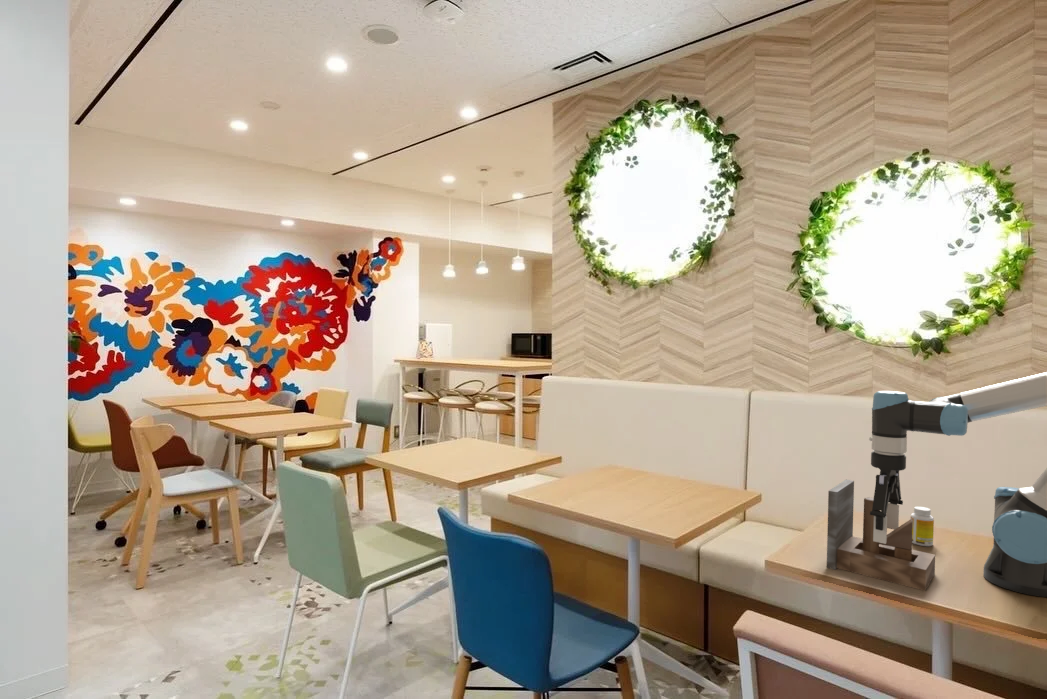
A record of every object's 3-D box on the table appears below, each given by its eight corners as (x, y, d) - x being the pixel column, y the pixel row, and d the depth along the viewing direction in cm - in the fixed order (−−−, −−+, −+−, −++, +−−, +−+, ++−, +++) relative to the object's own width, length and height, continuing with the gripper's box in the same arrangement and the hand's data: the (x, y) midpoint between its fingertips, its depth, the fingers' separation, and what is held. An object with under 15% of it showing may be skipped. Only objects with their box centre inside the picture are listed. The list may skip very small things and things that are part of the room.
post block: (935, 572, 148) (938, 494, 147) (924, 592, 136) (926, 508, 135) (844, 550, 162) (846, 479, 162) (826, 567, 151) (828, 490, 150)
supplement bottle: (938, 546, 166) (939, 510, 166) (921, 547, 165) (923, 512, 165) (920, 539, 172) (921, 505, 171) (905, 540, 170) (906, 506, 170)
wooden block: (910, 579, 144) (913, 506, 143) (860, 568, 150) (862, 499, 149) (911, 574, 147) (913, 503, 146) (861, 564, 153) (863, 496, 152)
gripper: (883, 443, 159) (880, 520, 160) (858, 457, 141) (856, 544, 142) (915, 447, 154) (913, 526, 155) (894, 462, 136) (892, 552, 137)
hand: (886, 535), depth 148 cm, fingers open, 13 cm apart
